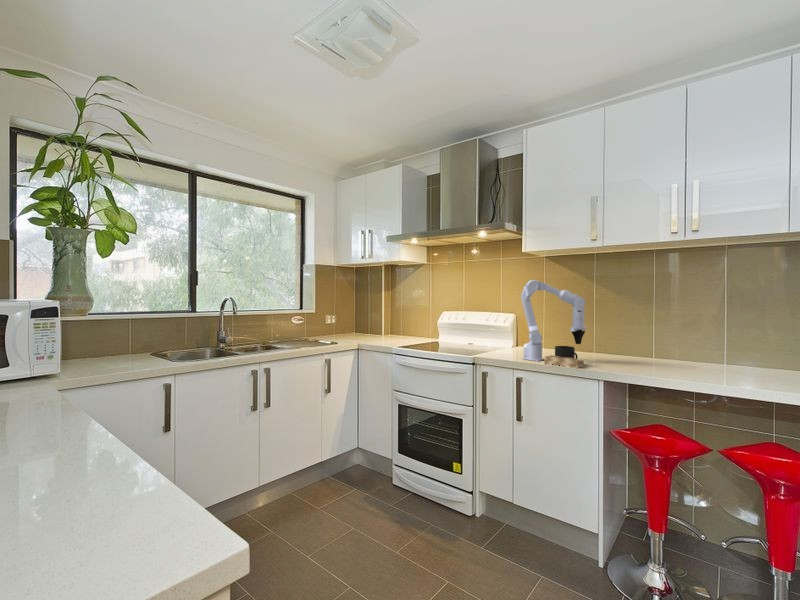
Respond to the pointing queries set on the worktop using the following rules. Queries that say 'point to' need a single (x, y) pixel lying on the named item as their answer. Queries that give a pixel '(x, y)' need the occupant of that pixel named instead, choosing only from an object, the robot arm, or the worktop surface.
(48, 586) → the worktop surface
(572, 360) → the brown lumpy block
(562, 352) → the mug
